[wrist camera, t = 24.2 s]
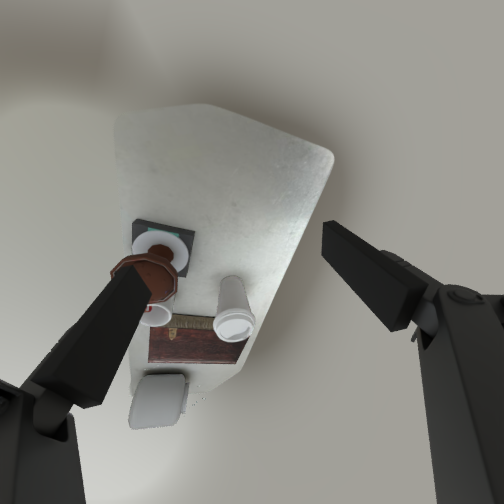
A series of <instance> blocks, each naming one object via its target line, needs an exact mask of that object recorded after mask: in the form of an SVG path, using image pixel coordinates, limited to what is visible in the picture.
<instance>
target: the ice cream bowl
mask: <svg viewBox="0 0 504 504" xmlns="http://www.w3.org/2000/svg"><path fill="white" fill-rule="evenodd" d="M173 259H174V253H173V252H172V250H171V249H170V248H169V247H167V246H165V245H162V244H157V245H152V246H151V247H150V248H149V249H148V253H142V254H135V255H130V256H127V257H125V258H124V259H122V260H121V261H120V262H119V263H118V264H117V265H116V266H115V268H113V270H112V271H111V272H110V274H111V280H112V278H113V277H114V276H115V275H116V273H117V272H118V271H119V270H120V269H121V267H125V266H130V265H134V267H135V269H136V270H137V272H138V273H139V275H140V276H141V278H142V279H143V281H144V282H145V284H146V285H147V287H148V288H149V290H150V291H151V293H152V296H151V298H150V300H149V303H148V304H155V303H161V302H166V301H167V300H168V299H169V298H171V297H172V296H173V295H174V294H175V293H176V292H177V282H178V273H177V270H176V269H175V268H174V267H173V265H172V264H171V263H170V262H171V261H172V260H173Z"/></svg>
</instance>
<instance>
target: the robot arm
mask: <svg viewBox="0 0 504 504" xmlns="http://www.w3.org/2000/svg"><path fill="white" fill-rule="evenodd" d="M322 256H323V258H324V259H325V260H326V261H327V262H328V263H329V264H330V265H331V266H332V267H333V269H334V270H335V271H336V272H337V273H338V274H339V275H340V276H341V277H342V278H343V280H344V281H345V282H346V283H347V284H348V285H349V286H350V287H351V288H352V290H353V291H355V293H356V294H357V295H358V296H359V297H360V298H361V299H362V301H363V302H364V303H365V304H366V305H367V306H368V307H369V308H370V310H371V311H372V312H373V313H374V314H375V315H376V316H377V317H378V318H379V319H380V321H381V322H382V323H383V324H384V325H385V326H386V327H387V328H388V329H389V331H390V332H394V331H398V330H402V329H406V328H407V327H408V325H409V323H410V321H411V320H412V321H413V322H414V323H415V324H417V325H418V327H417V329H416V330H415V332H414V334H413V336H412V338H411V341H412V342H414V341H415V339H416V338H417V343H418V351H419V359H420V367H421V375H422V384H423V392H424V400H425V408H426V417H427V425H428V433H429V441H430V449H431V458H432V466H433V474H434V482H435V491H436V499H437V504H504V295H481V294H480V293H478V292H476V291H474V290H472V289H469V288H466V287H463V286H459V285H451V284H448V285H443V284H442V283H440V282H439V281H437V280H435V279H434V278H432V277H431V276H429V275H427V274H426V273H424V272H423V271H421V270H420V269H418V268H416V267H415V266H412V265H411V264H410V263H409V262H407V261H404V259H402V258H400V257H399V256H397V255H396V254H394V253H391V252H388V251H385V250H381V251H379V250H377V249H376V248H374V247H373V246H371V245H370V244H368V243H367V242H365V241H364V240H363V239H361V238H360V237H358V236H357V235H355V234H354V233H352V232H351V231H349V230H348V229H346V228H344V227H343V226H342V225H340V224H339V223H337V222H336V221H334V220H332V221H328V222H323V234H322ZM151 296H152V293H151V291H150V290H149V288H148V287H147V285H146V284H145V282H144V281H143V279H142V278H141V276H140V275H139V273H138V272H137V270H136V269H135V267H134V265H130V266H125V267H121V269H120V270H119V271H118V272H117V273H116V275H115V276H114V277H113V278H112V280H111V281H110V282H109V283H108V285H107V286H106V287H105V288H104V290H103V291H102V292H101V293H100V294H99V296H98V297H97V298H96V299H95V301H94V302H93V303H92V304H91V305H90V307H89V308H88V309H87V311H86V312H85V313H84V314H83V315H82V317H81V318H80V319H79V320H78V321H77V323H75V324H74V325H73V326H72V327H71V328H70V329H68V330H67V331H66V333H65V334H64V335H63V336H62V337H61V339H60V340H59V341H58V343H56V345H55V346H54V347H53V348H52V349H51V352H49V353H48V354H47V355H46V357H45V358H44V359H43V360H42V361H41V363H40V364H39V365H38V366H37V367H36V369H35V370H34V371H33V372H32V373H31V375H30V376H29V377H28V378H27V379H26V381H25V382H24V383H23V384H22V385H21V387H20V388H18V387H15V386H13V385H11V384H9V383H7V382H5V381H3V380H1V379H0V504H86V500H85V493H84V487H83V479H82V472H81V464H80V457H79V450H78V443H77V436H76V429H75V421H74V417H73V415H72V414H71V413H69V411H70V409H71V407H72V406H73V404H76V405H77V406H79V407H81V408H83V409H85V408H89V407H93V406H97V405H101V404H102V402H103V400H104V398H105V396H106V394H107V392H108V389H109V387H110V385H111V383H112V381H113V379H114V376H115V374H116V372H117V370H118V368H119V365H120V363H121V361H122V359H123V356H124V355H125V352H126V350H127V348H128V346H129V344H130V342H131V339H132V337H133V335H134V333H135V331H136V329H137V326H138V324H139V322H140V320H141V318H142V316H143V313H144V311H145V309H146V307H147V305H148V303H149V300H150V298H151Z"/></svg>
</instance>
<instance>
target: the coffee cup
mask: <svg viewBox="0 0 504 504" xmlns="http://www.w3.org/2000/svg"><path fill="white" fill-rule="evenodd" d="M254 326H255V316H254V315H253V313H251V309H250V306H249V303H248V299H247V296H246V292H245V289H244V285H243V282H242V280H241V279H240V278H239V277H236V276H229V277H226V278H224V279H223V280H222V281H221V284H220V291H219V298H218V306H217V313H216V317H215V319H214V321H213V327H214V330H215V332H216V333H217V336H218V337H219V338H220V339H221V340H223V341H227V342H238V341H241V340H244V339H246V338H247V337H249V336H250V335H251V333H252V332H253V328H254Z"/></svg>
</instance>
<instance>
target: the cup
mask: <svg viewBox="0 0 504 504" xmlns="http://www.w3.org/2000/svg"><path fill="white" fill-rule="evenodd" d="M174 299H175V294H174V295H173V296H172V297H171V298H169V299H168V300H167V301H166V302H161V303H155V304H148V305H147V307H146V309H145V311H144V313H143V316H142V318H141V320H140V323H142V324H144V325H147V326H152V327H157V326H162V325H165V324H167V323H168V322H169V321H170V320H171V317H172V312H173V305H174Z"/></svg>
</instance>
